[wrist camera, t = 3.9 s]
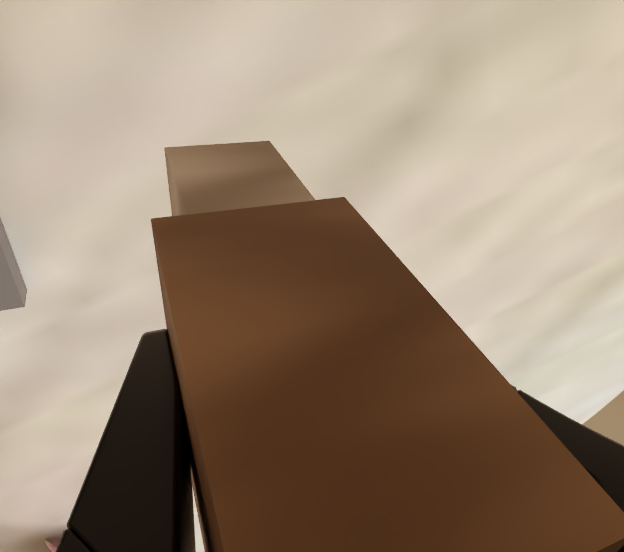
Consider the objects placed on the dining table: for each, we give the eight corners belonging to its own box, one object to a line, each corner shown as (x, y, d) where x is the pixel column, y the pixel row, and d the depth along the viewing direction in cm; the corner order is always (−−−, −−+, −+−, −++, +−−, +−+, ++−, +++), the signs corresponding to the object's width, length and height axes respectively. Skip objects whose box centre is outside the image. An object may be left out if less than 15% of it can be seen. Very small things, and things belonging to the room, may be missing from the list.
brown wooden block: (293, 139, 9) (640, 531, 4) (282, 321, 12) (460, 695, 7) (136, 149, 8) (259, 716, 3) (165, 345, 11) (254, 811, 6)
